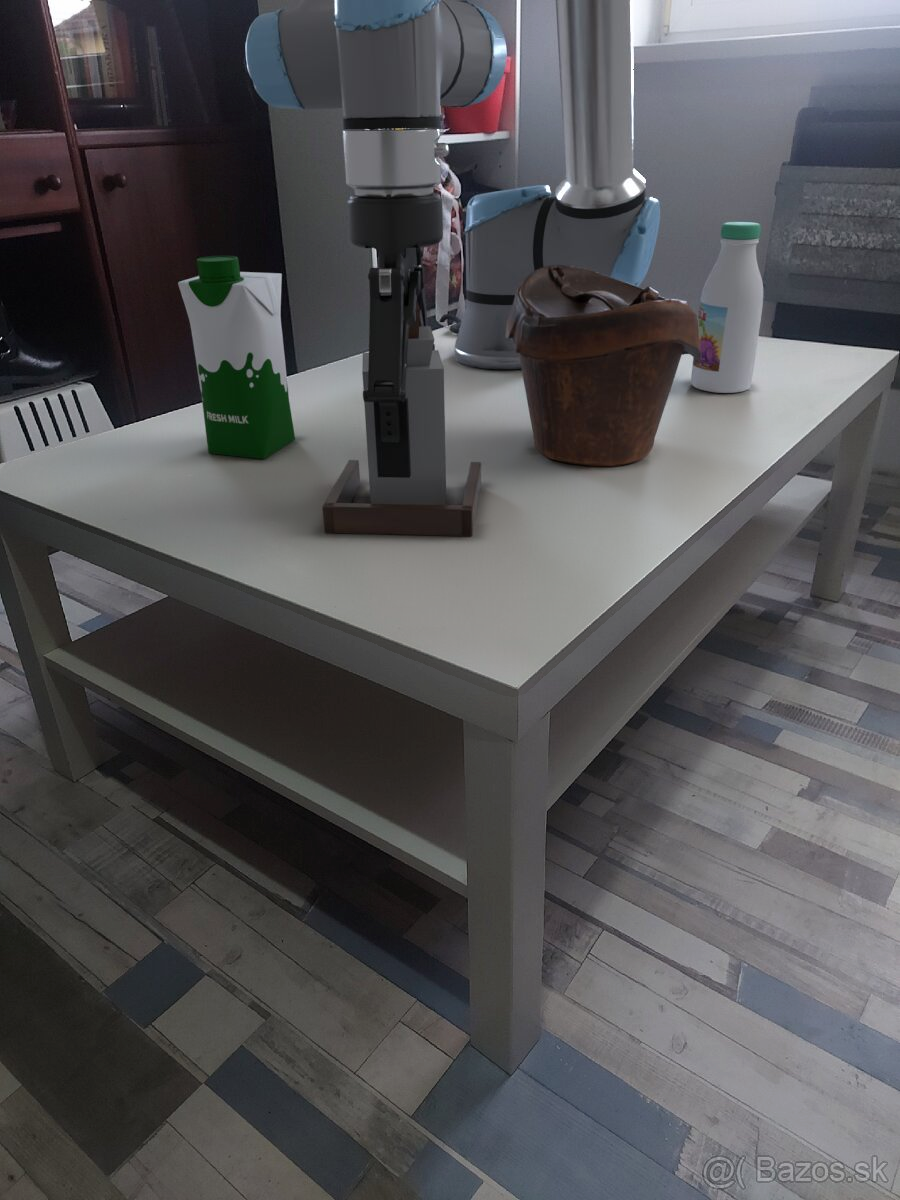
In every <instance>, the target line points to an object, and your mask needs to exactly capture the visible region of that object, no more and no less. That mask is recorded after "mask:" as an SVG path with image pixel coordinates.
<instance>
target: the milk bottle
mask: <svg viewBox="0 0 900 1200" xmlns="http://www.w3.org/2000/svg"><path fill="white" fill-rule="evenodd" d="M761 228H762V225H761V224H760V223H758V222H749V221H729V222H725V223H722V225H721V229H720V240H719V242H720V245H721V246H720V252H719V254H718V256H717V259H716V260H715V263H714V265H713V267H712V269H711V271H710V272H709V274H708V277H707V278H706V280H705V282H704V285H703V288H702V291H701V296H700V303H699V307H698V308H699V309H698V315H697V319H698V330H699V344H700V352H701V358H700V362H697V361H696V360H695V358H694V357H693V356H692V367H691V375H690V377H691V378H690V382H691V385H692V386H693V387H694V388H696V389H698V390H701V391H705V392H710V393H717V394H718V393H719V394H720V393H722V394H732V393H741V392H744V391H747V390H749V389H750V387H751V386H752V382H753V376H754V369H755V363H756V357H757V356H756V355H757V349H758V342H759V335H760V330H761V329H760V327H761V320H762V313H763V306H764V305H763V303H764V284H763V279H762V275H761V272H760V269H759V264H758V259H757V245H758V244H759V243H760V241H759V240H760V236H761V230H762V229H761Z"/></svg>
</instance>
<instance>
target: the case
mask: <svg viewBox="0 0 900 1200" xmlns="http://www.w3.org/2000/svg"><path fill="white" fill-rule="evenodd" d="M506 338H507V339H509V338H513V341H514V343H515V351H516V353H519V356H520V363H521V368H522V369H521V374H522V379H523V386H524V390H525V395H526V396H525V397H526V401H527V407H528V414H529V418H530V425H531V430H532V436H533V443H534V446H535V448H536V449H537V450H538V451H539V452H540V453H541V454H542V455H543V456H545V457H546V458H548V459H550V460H553V461H558V462H561V463H567V464H572V465H581V466H591V467H592V466H593V467H614V466H624V465H629V464H633V463H636V462H638V461H641V460H643V459H644V458H645V457H646V456H648V455H649V453H650V452H651V451H652V450H653V448H654V445H655V438H656V435H657V433H658V430H659V426H660V423H661V421H662V416H663V414H664V410H665V408H666V404H667V401H668V398H669V396H670V393H671V389H672V387H673V383H674V380H675V377H676V374H677V371H678V368H679V364H680V361H681V358H682V356H684V355H690V356H692V358H693V357H694V358H695V360H696V361H697V362H700V358H701V352H700V344H699V330H698V315H697V313H696V312H695V310H694V309H693V308H692V307H690V304H689V302H688V301H686V300H682V299H677V298H667V297H663V296H661V295H660V292H659V291H657V290H655V289H653V288H652V287H650V286H647V287H645V288H642V287H640V286H638V287H637V286H635V285H632V284H629V283H626V282H624V281H621V280H618V279H615V278H612V277H609V276H606V275H603V274H600V273H598V272H595V271H592V270H588V269H584V268H580V267H575V266H570V265H550V266H545V267H542V268H539V269H537V270H536V271H534V272H532V273H531V274H530V275H529V276H528V277H527V278H526V279H525V280H524V282H523V283H522V284H521V285H520V286H519V288H518V289H517V292H516V295H515V298H514V302H513V305H512V308H511V312H510V315H509V318H508V321H507V329H506Z"/></svg>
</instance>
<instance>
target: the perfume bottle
mask: <svg viewBox="0 0 900 1200" xmlns="http://www.w3.org/2000/svg"><path fill="white" fill-rule="evenodd" d="M419 319H420V308H419V304H418V302H417V304H416V320H415V323H414V324H413V325H411V326H410V327H409V335H408V351H407V368H406V384H405V391H406V398H408V410H409V435H410V461H411V476H410V478H393V477H378V471H377V454H376V437H375V420H374V403H373V402H364V401H363V402H364V403H363V404H364V405H363V406H364V419H365V420H364V421H365V435H366V451H367V453H366V454H367V466H368V467H367V468H368V481H369V482H368V483H369V484H368V485H369V499H370V504H411V505H447V468H446V467H447V465H446V463H447V460H446V457H447V456H446V412H445V411H446V410H445V409H446V408H445V407H446V406H445V369H444V365H443V362H442V358H441V354H440V351H439V350H438V349H435V350H433V345H434V343H435V337H434V333H433V329H432V327H431V325H428V326H422V327H419ZM361 366H362V371H361V372H362V386H363V387H362V388H363V389H362V391H367V389H368V368H369V352H362V365H361ZM383 384H393V383H392V382H385V383H383Z"/></svg>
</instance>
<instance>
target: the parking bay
mask: <svg viewBox="0 0 900 1200" xmlns="http://www.w3.org/2000/svg"><path fill="white" fill-rule="evenodd" d="M360 485H361V472H360V461H359V459H349V460H347V462H346V465H345V466H344V468H343V469H342V472H341V473H340V475H339V477H338V478H337V480H336V481H335V484H334V485H333V488H332V489H331V491H330V492H329V494H328V496H327V498H326V500H325V501H324V503H323V505H322V507H321V509H322V518H323V519H322V520H323V529H324V533H325V534H359V535H360V534H361V535H362V534H364V535H399V536H401V535H402V536H403V535H404V536H442V537H443V536H444V537H447V536H448V537H450V536H451V537H473V534H474V528H475V523H476V516H477V512H478V511H477V510H478V506H479V499H480V493H481V487H482V462H481V461H471V462H470V463H469V469H468V474H467V479H466V484H465V488H464V492H463V497H462V502H461V505H458V504H457V505H456V504H455V505H454V504H453V505H452V504H450V505H449V504H446V505H411V504H371V503H362V502H361V503H360V502H357V503H356V502H352V501H353V499H354V497H355V495H356V493H357V491H358V489H359V488H360Z"/></svg>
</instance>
